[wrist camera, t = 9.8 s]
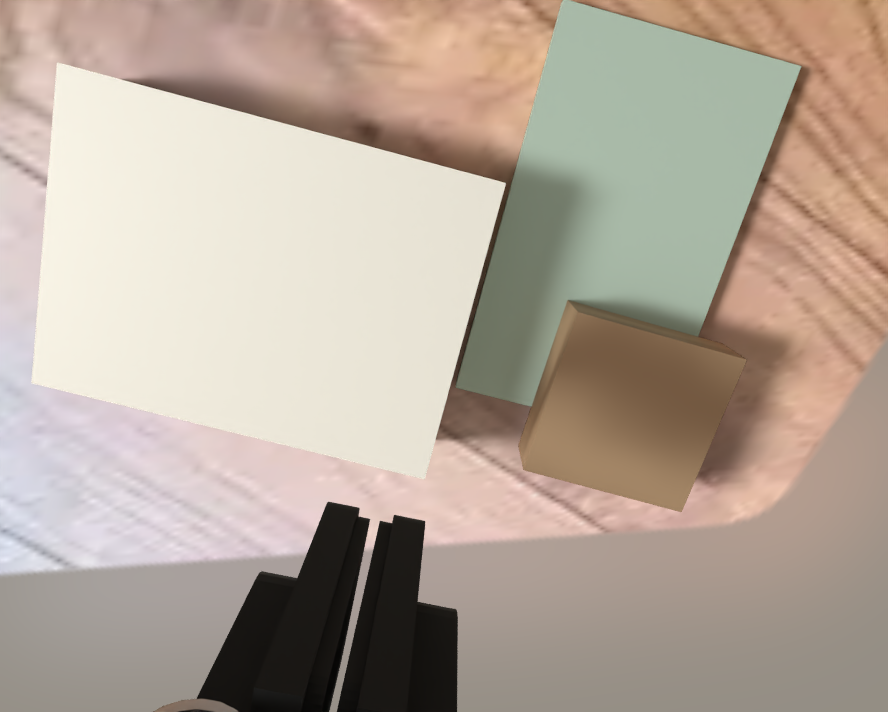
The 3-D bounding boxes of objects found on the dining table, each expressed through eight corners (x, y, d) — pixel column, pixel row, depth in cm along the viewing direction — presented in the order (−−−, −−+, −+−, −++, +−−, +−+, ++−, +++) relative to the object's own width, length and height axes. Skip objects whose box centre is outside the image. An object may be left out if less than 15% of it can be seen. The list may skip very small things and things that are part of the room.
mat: (561, 2, 25) (563, -2, 24) (793, 68, 25) (801, 66, 24) (455, 383, 29) (455, 387, 28) (654, 433, 29) (659, 438, 29)
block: (746, 359, 25) (721, 343, 27) (578, 312, 25) (567, 299, 27) (681, 512, 27) (663, 484, 29) (523, 470, 27) (518, 445, 29)
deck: (117, 79, 26) (56, 62, 22) (499, 181, 26) (505, 182, 23) (88, 355, 29) (31, 383, 25) (429, 439, 30) (424, 479, 26)
